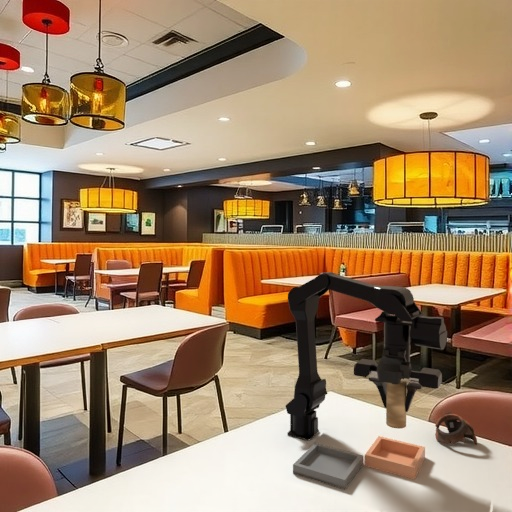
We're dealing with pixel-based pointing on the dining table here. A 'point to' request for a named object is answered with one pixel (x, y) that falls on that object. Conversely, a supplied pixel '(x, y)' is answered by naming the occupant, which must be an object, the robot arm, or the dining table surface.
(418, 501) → the dining table surface
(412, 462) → the terracotta dish
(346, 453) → the charcoal tray
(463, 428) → the dark brown vr controller
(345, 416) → the dining table surface
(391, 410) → the maple peg
